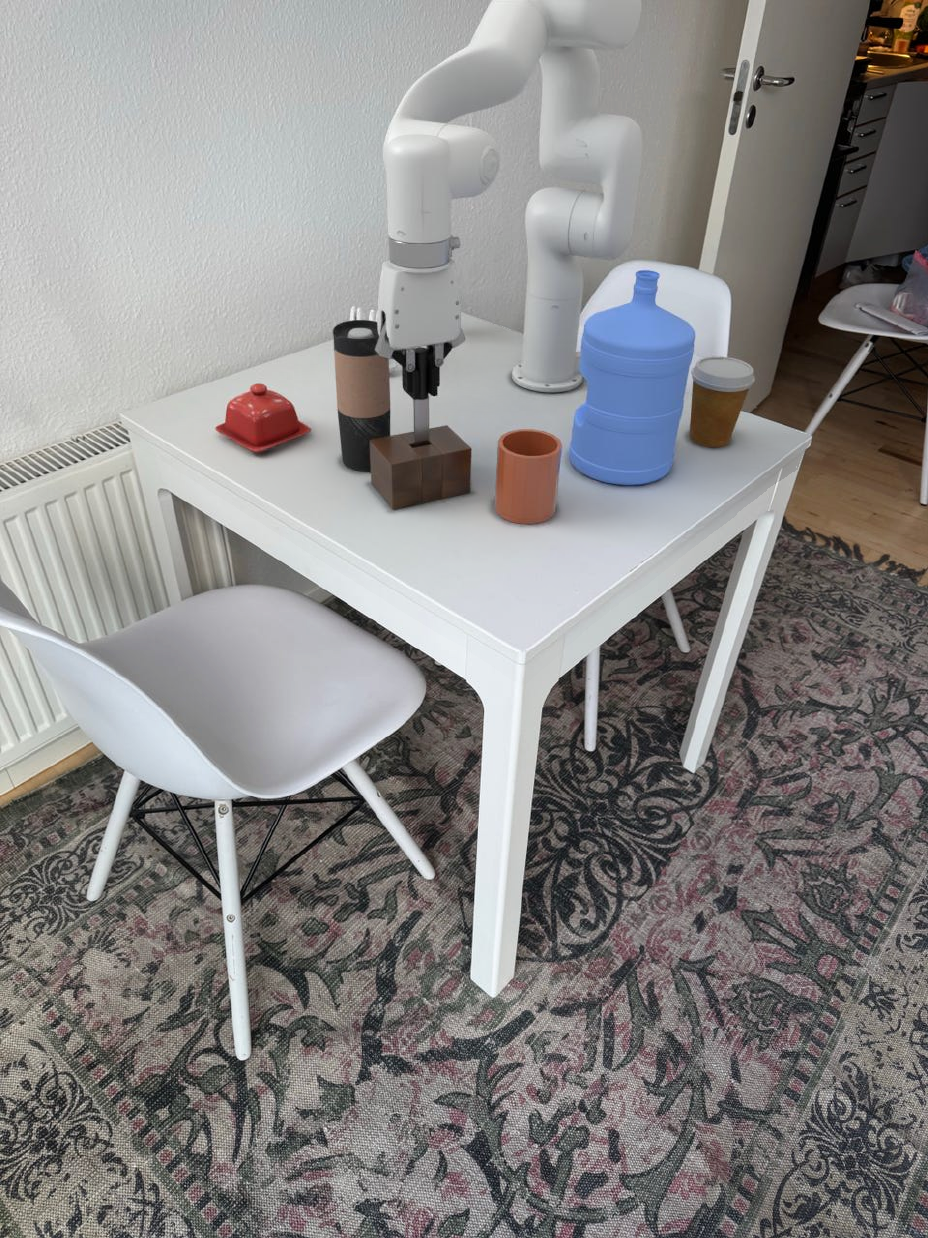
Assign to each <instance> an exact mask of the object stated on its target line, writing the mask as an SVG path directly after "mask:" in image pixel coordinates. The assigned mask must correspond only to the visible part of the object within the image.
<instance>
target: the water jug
mask: <svg viewBox="0 0 928 1238" xmlns="http://www.w3.org/2000/svg"><path fill="white" fill-rule="evenodd" d="M660 277H661V274H660V273H659V272H658V271H655V270H651V269H649V270H648V269H642V270H640V269H639V270H637V271H636V272H635V283H634V285H633V294H632V298H631V301H630V302H628V303H625V304H621V305H618V306H615V307H611V308H608V309H604V310H602V311H597V312H596V313H594V314H592V315H591V316H589V317H588V318H587V319H586V320H585V322H584V325H583V330H582V331H583V332H582V335H581V339H580V350H579V352H580V353H581V358H580V367H579V370H580V373H581V375H582V378H584V379H585V381H586V385H587V391H586V399H585V401H584V402H583V403H582V404H581V405H579V406H578V407H577V409H576V410H575V412H574V414H573V422H572V431H571V439H570V441H569V448H568V456H569V460H570V463H572V465H573V466H574V468H576V469H577V470H578V471H579V472H580V473H581V474H583V475H585V476H587V477H588V478H592V479H593V480H596V481H599V482H603V483H607V484H611V485H621V486H636V485H639V486H640V485H645V484H649V483H653V482H655V481H658V480H661V479H662V478H663V477H665V476H666V475H668V474H669V472H670V471H671V469H672V467H673V463H674V459H675V449H676V442H677V437H678V433H679V432H678V431H679V427H680V421H681V419H682V415H683V411H684V404H685V394H686V389H687V383H688V379H689V372H690V368H691V365H692V361H693V358H694V352H695V341H696V331H695V328H694V327H693V326H692V325H691V324H690V323H689V321H687V320H685V319H683V318H681V317H680V316H678V315H675V314H674V313H672V312H670V311H668V310H667V309H664V308H663V307H661V306H660V305H658V304H657V303H656V299H657V293H658V289H659V285H658V282H659V278H660Z"/></svg>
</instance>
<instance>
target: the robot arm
mask: <svg viewBox="0 0 928 1238" xmlns="http://www.w3.org/2000/svg"><path fill="white" fill-rule="evenodd" d="M641 15H642V0H490V2H489V4H488V5H487V8H486V10H485V12H484V14H483V16H482V18H481V20H480V22H479V24H478V25H477V27H476V30H475V32H474V33H473V36H472V37H471V39H470V42H469V43H468V45H467V46H464V47H463V48H462V49H460V50H459V51H457V52H455V53H453V54H452V55H449V56H448V57H447V58H445V59H443V60H442V61H441V62H440V63H438V64H437V65H436V66H434V67H432V68H431V69H429V70H428V71H427V72H425V73H424V74H423V75H421V76H420V77H419V78H418V79H417V80H416V81H414V83H412V85H411V86H410V87H409V88H408V89H407V91H406V92H405V94H404V96H403V98H402V99H401V101H400V103H399V105H398V107H397V108H396V111H395V113H394V114H393V117H392V119H391V121H390V123H389V125H388V128H387V130H386V134H385V137H384V140H383V144H382V145H383V146H382V164H383V168H384V170H385V175H386V178H385V179H386V207H387V208H386V209H387V238H388V260H386V261H383V262H382V265H381V270H380V275H379V276H380V277H379V284H378V293H377V294H378V295H377V311H378V312H377V311H376V314H377V327H378V334H379V339H378V342H377V345H376V348H375V351H376V353H377V354H378V355H379V356H382V357H385V358H389V359H394V360H395V361H397V364H399V365H400V366H401V377H402V379H401V380H402V389H403V391H404V392H405V393H406V395H408V396H409V397H410V398H411V399H412V400H417V399H418V398H419V372H418V370H416V369H415V348H419V347H426V348H427V349H428V357H429V396H431V397H437V396H438V387H440V386H441V384H440V383H441V367H442V366H443V365H444V362H445V361H444V360H445V359H446V358H447V357H448V356H449V354H450V353H451V351H452V350H453V349H455V348H456V347H457V348H458V346H460V345H462V344H463V343H465V341H466V337H465V334H464V331H463V329H462V305H461V292H460V281H459V276H458V271H457V266H456V262H455V260H454V259H452V258H453V251H454V250H456V249H460V247H461V239H460V237H459V236H453V235H452V201H453V200H457V199H465V198H466V199H467V198H474V197H477V196H480V195H481V194H483V193H485V192H486V191H487V190H488V189H490V187H491V186H492V185H493V183H494V182H495V180H496V178H497V176H498V173H499V170H500V163H501V156H500V150H499V146H498V144H497V141H496V140H495V139H494V137H493V136H492V135H491V134H490V133H488V132H487V131H486V130H483V129H482V128H478V127H474V126H468V125H459V124H453V123H450V122H451V121H453V120H455V119H458V118H460V117H462V116H466V115H469V114H472V113H475V112H479V111H483V110H488V109H490V108H491V109H492V108H494V107H497V106H499V105H503V104H505V103H508V102H510V101H512V100H514V99H515V98H517V97H518V96H520V95H521V94H522V93H523V92H524V90H525V89H526V87H527V85H528V84H529V81H530V79H531V76H532V75H533V73H534V70H535V68H536V66H537V64H538V62H539V64H540V71H541V78H542V79H541V81H542V84H541V87H542V88H541V107H540V124H539V139H538V144H539V145H538V161H539V166H540V169H541V170H542V172H543V173H544V174H546V175H547V176H549V177H551V178H555V179H559V180H564V181H568V182H577V183H584V184H590V185H591V184H592V185H598V186H601V189H602V192H603V193H602V192H597V191H588V190H584V189H579V188H578V189H577V188H570V187H564V186H549V187H545V188H544V187H543V188H541V189H539V190H537V191H536V192H534V194H532V196H530V198H529V200H528V202H527V205H526V207H525V214H524V229H525V239H526V249H527V250H526V251H527V275H526V290H525V303H524V304H525V305H524V317H523V318H524V320H523V335H522V349H521V350H522V351H521V362H520V363H519V364H517V365H515V366H514V367H513V368H512V371H511V379H512V381H513V382H514V383H515V384H516V385H518V386H519V387H522V388H524V389H526V390H530V391H533V392H539V393H550V394H551V393H552V394H553V393H562V392H568V391H572V390H574V389H576V388H578V387H579V386H580V385H581V384H582V382H583V376H582V375H581V373H580V370H579V367H580V358H581V353H580V351H577V350H578V349H577V348H578V347H577V346H578V340H579V331H580V330H579V328H580V320H581V310H582V299H583V292H584V276H583V272H582V268H581V266H580V264H579V261H578V259H577V257H583V258H588V259H589V258H590V259H595V260H601V261H616V260H619V259H621V258H623V256H624V255H625V254H626V253H627V251H628V249H629V247H630V244H631V241H632V238H633V232H634V226H635V220H636V211H637V206H638V205H637V204H638V195H639V187H640V179H641V174H642V173H641V171H642V165H643V155H644V154H643V153H644V140H643V133H642V129H641V127H640V125H639V124H638V123H637V121H636V120H635V119H633V118H631V117H629V116H625V115H620V114H610V113H604V112H603V113H601V111H600V108H599V100H600V87H601V86H600V85H601V69H600V64H599V62H598V60H597V56H596V54H595V52H594V50H598V51H599V50H601V51H608V52H618V51H621V50H623V49H625V48H626V47H627V46H628V45H629V44H630V43H631V42H632V40H633V39H634V37H635V35H636V33H637V30H638V28H639V25H640V22H641V21H640V20H641ZM576 256H577V257H576ZM390 346H391V347H390Z"/></svg>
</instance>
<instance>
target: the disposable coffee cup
mask: <svg viewBox="0 0 928 1238" xmlns="http://www.w3.org/2000/svg"><path fill="white" fill-rule="evenodd" d="M690 372H691V378H692V393H691V406H690V407H691V408H690V411H691V412H690V423H689V424H690V425H689V438H690V440H691V441H692V442H693V443H695V444H697V445H699V446H702V447H707V448H722V447H725V446H727V445H729V444H730V441H731V438H732V435H733V433H734V430H735V427H736V425H737V422H738V419H739V416H740V414H741V412H742V408H743V407H744V403H745V400H746V398H747V395H748V392H749V389H750V388H751V387H752V385H753V384H754V383H755V381H756V377H755V375H754V368H753V366H752V365H751V364H749V363H748V362H745V361H744V360H741V359H739V358H734V357H730V356H721V355H720V356H718V355H716V356H715V355H714V356H706V357H702V358H699V359H698V360H696V363H695V365H694V367H693V368H692V369H691V371H690Z"/></svg>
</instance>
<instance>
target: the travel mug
mask: <svg viewBox="0 0 928 1238" xmlns="http://www.w3.org/2000/svg"><path fill="white" fill-rule="evenodd" d="M332 336H333V353H334V371H335V372H334V373H335V389H336V390H335V391H336V409H337V418H338V428H339V438H340V448H341V450H340V451H341V459H342V463H343V465H344V466H345V467H346V468H348V469H350V470H352V471H355V472H371V463H370V440H372V439H377V438H382V437H387V436H391V385H390V384H391V383H390V373H389V358H385V357H382V356H379V355H378V354H377V353H376V351H375V348H376V345H377V342H378V339H379V334H378V327H377V322H375V321H369V319H368V320H367V319H366V320H352V321H350V320H347V321H343V322H340V323H338V324H336V325H335V326H334V327H333V329H332Z"/></svg>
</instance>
